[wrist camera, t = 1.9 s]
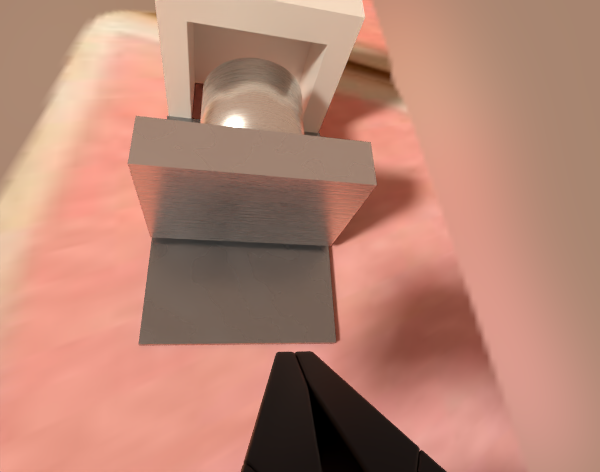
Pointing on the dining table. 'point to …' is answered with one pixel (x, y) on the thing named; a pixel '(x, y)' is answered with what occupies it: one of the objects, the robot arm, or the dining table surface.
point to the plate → (237, 292)
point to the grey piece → (248, 165)
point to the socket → (258, 44)
